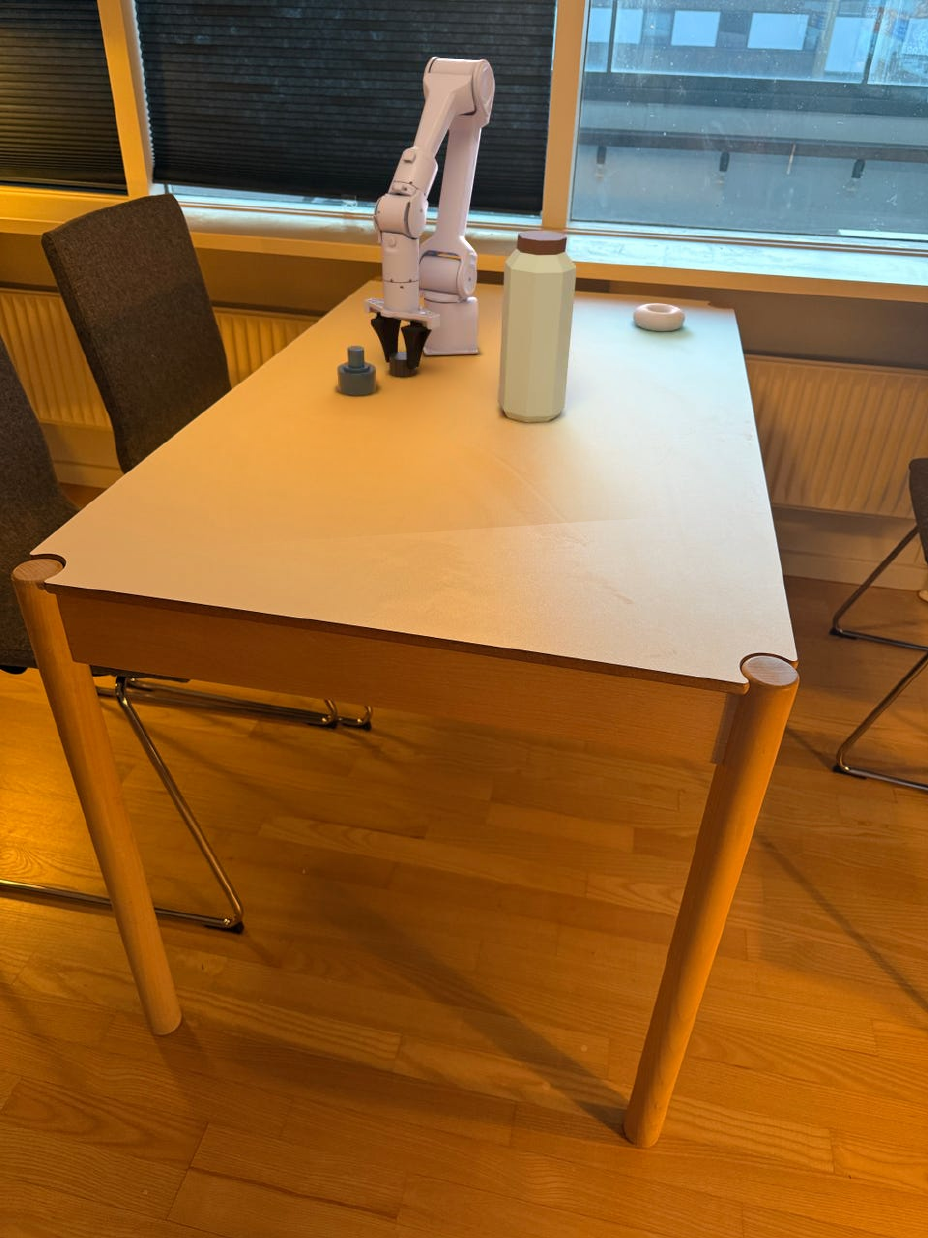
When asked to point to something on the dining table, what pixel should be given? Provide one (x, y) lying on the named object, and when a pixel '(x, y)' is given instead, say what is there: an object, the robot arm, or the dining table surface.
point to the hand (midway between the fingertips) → (402, 364)
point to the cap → (399, 365)
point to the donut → (659, 317)
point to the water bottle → (536, 327)
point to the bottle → (356, 374)
